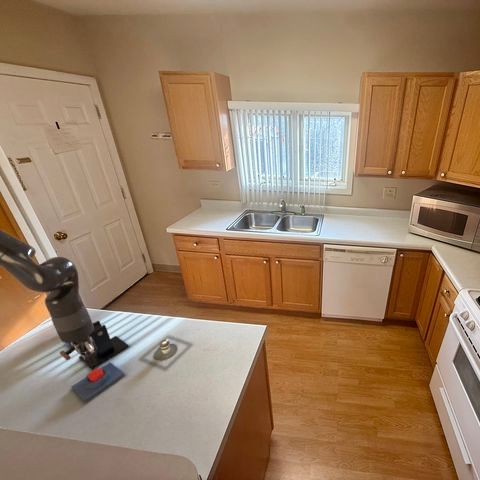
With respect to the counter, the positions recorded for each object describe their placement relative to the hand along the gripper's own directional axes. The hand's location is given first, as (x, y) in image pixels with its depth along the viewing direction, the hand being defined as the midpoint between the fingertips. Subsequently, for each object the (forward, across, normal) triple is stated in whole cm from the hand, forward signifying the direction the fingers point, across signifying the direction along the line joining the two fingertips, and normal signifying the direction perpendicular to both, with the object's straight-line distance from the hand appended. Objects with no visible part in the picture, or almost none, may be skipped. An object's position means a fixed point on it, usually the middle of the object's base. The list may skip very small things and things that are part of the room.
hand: (91, 363), depth 82 cm
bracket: (+9, -12, +7) cm, 16 cm away
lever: (0, -12, +3) cm, 12 cm away
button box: (+9, 0, 0) cm, 9 cm away
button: (+6, 0, 0) cm, 6 cm away
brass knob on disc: (+9, +7, +19) cm, 22 cm away
